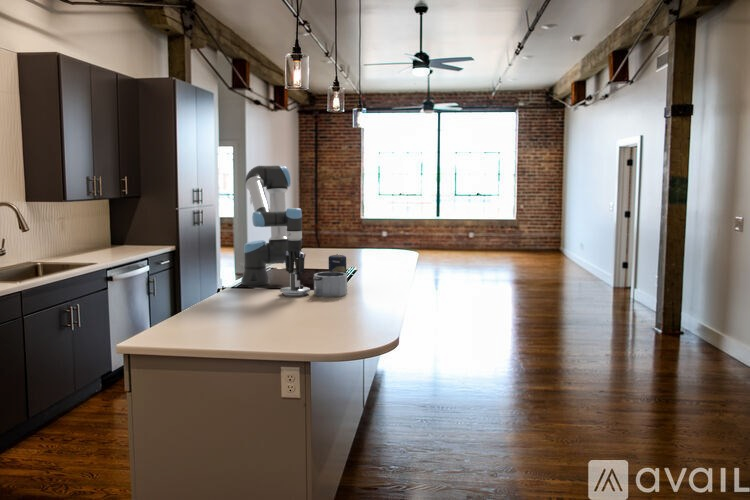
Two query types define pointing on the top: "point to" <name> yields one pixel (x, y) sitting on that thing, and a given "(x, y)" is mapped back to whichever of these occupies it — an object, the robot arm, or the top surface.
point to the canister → (337, 263)
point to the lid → (294, 289)
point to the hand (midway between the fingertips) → (295, 286)
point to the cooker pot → (330, 284)
